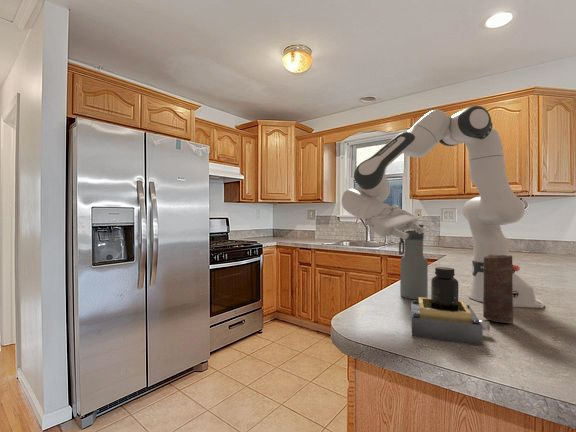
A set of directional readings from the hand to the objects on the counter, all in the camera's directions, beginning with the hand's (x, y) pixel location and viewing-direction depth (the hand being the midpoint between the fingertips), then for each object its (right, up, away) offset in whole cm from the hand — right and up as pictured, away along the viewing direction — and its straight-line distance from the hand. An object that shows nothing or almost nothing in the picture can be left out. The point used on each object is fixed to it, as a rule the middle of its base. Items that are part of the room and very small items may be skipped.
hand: (415, 234), depth 99 cm
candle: (+22, -26, -7) cm, 35 cm away
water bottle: (+8, -26, +21) cm, 34 cm away
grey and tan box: (+4, -26, -13) cm, 29 cm away
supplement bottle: (+3, -21, -12) cm, 24 cm away
